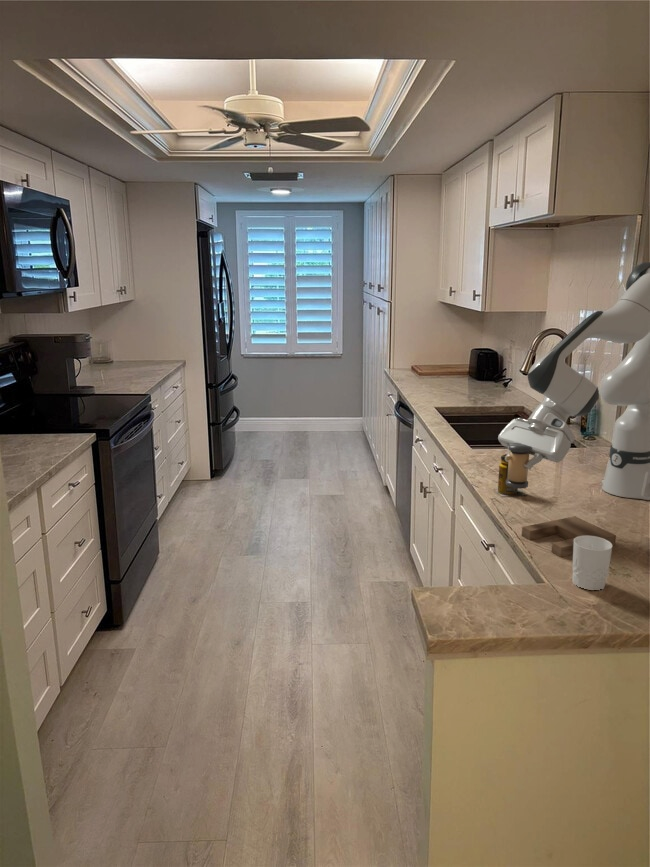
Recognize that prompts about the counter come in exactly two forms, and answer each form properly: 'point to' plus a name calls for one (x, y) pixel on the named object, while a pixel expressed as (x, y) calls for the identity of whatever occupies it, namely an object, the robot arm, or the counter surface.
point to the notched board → (566, 533)
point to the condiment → (502, 486)
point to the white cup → (591, 562)
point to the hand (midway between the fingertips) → (516, 464)
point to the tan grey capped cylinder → (517, 465)
